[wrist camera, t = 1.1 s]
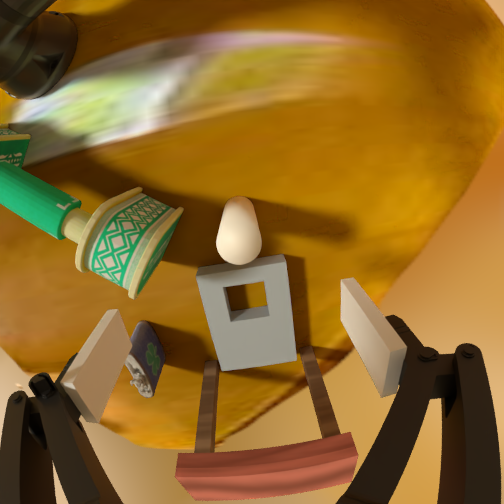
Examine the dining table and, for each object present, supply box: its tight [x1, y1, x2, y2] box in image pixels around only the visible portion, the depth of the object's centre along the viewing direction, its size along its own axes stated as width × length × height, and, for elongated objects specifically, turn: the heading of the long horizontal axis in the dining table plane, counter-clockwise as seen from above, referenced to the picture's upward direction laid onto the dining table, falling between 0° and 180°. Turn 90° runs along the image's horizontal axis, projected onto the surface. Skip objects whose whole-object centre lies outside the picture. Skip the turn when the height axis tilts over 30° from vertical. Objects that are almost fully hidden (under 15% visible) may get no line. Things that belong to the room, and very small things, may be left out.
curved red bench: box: [175, 346, 358, 501], centre depth 35 cm, size 7×18×25 cm, turn 99°
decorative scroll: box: [0, 124, 184, 300], centre depth 30 cm, size 36×8×15 cm, turn 62°
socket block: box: [196, 254, 297, 371], centre depth 43 cm, size 17×12×3 cm
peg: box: [216, 196, 262, 265], centre depth 33 cm, size 4×4×14 cm
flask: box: [124, 321, 165, 398], centre depth 41 cm, size 9×3×11 cm, turn 11°
